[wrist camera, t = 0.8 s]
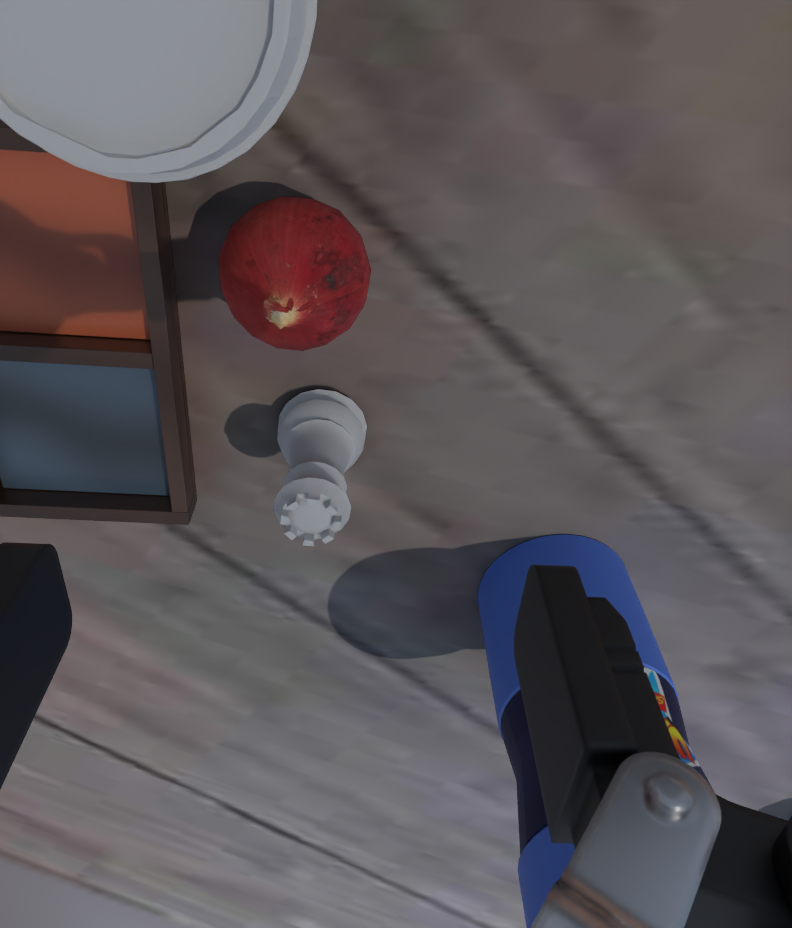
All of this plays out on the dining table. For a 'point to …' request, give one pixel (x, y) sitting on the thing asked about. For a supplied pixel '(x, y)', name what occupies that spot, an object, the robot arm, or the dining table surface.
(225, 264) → the pomegranate
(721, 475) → the dining table surface
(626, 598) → the water bottle
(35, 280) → the tray
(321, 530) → the rook chess piece
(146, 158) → the disposable coffee cup
